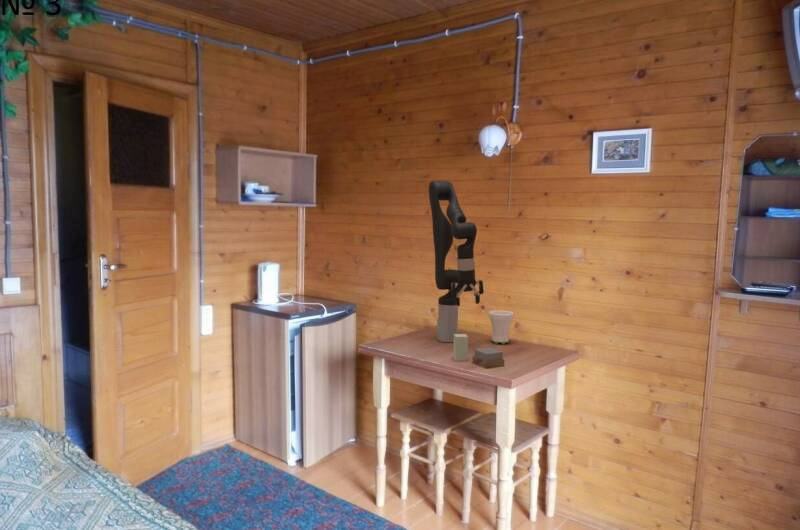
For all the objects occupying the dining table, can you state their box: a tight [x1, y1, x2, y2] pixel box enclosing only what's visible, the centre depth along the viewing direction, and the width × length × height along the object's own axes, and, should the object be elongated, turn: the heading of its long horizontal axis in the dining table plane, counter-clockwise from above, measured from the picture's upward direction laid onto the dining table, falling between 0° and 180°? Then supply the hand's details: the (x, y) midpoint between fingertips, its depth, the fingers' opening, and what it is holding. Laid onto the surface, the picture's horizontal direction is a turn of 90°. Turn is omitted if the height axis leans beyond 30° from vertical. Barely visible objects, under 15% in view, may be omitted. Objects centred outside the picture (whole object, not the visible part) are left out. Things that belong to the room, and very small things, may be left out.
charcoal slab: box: [473, 347, 504, 362], centre depth 231 cm, size 8×8×3 cm
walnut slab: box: [471, 356, 505, 369], centre depth 231 cm, size 9×9×3 cm
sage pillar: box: [452, 333, 469, 362], centre depth 237 cm, size 5×5×10 cm
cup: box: [488, 309, 514, 345], centre depth 267 cm, size 11×11×14 cm
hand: (467, 304), depth 254 cm, fingers open, 8 cm apart
